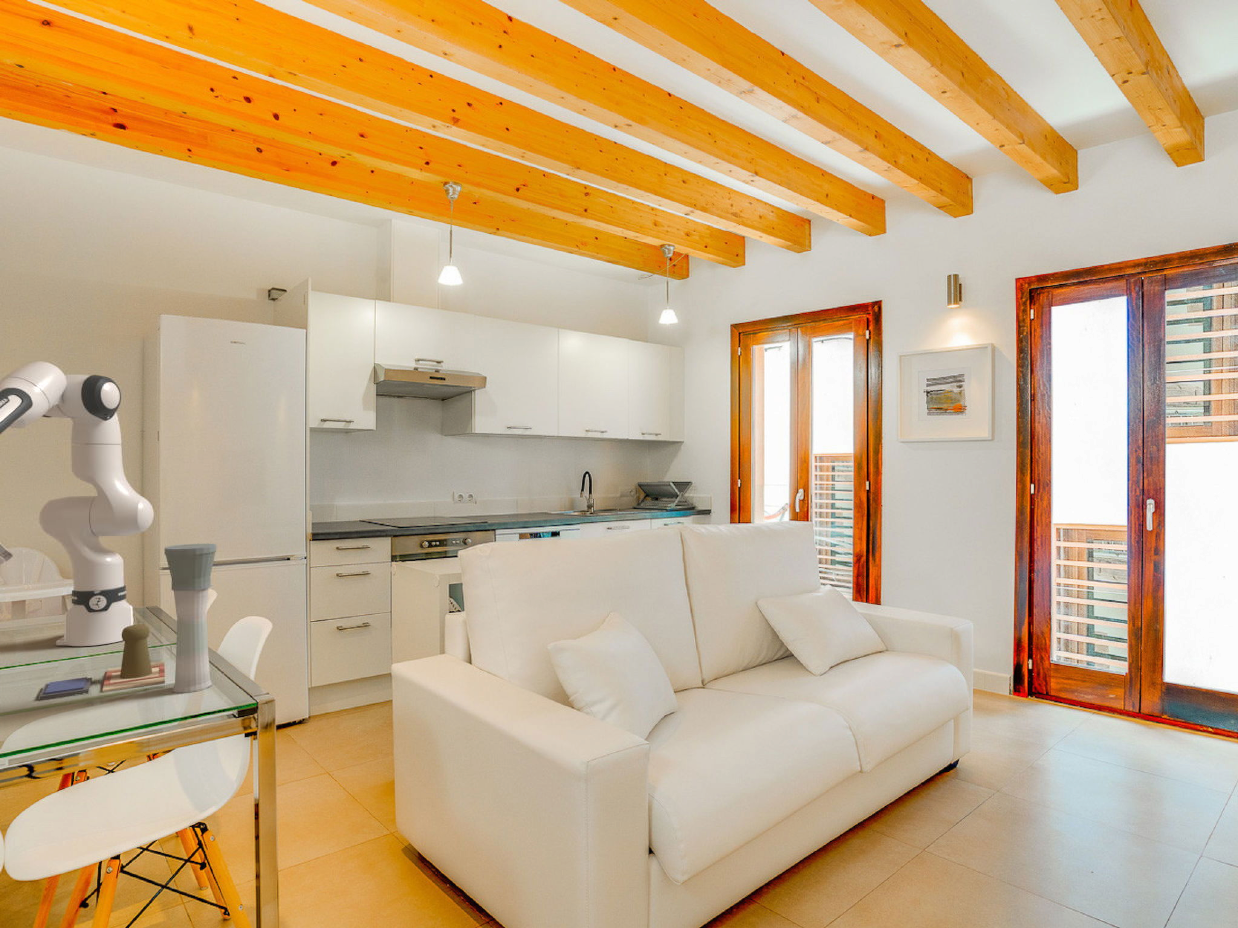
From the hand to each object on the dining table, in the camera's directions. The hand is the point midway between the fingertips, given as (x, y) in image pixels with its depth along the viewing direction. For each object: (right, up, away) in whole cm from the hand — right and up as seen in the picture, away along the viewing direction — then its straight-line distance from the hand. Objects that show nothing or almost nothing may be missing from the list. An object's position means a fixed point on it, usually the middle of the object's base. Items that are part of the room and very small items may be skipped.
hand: (6, 561), depth 153 cm
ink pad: (+13, -27, 0) cm, 30 cm away
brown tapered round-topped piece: (+21, -27, +9) cm, 35 cm away
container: (+39, -27, +1) cm, 47 cm away
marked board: (+21, -27, +9) cm, 36 cm away
